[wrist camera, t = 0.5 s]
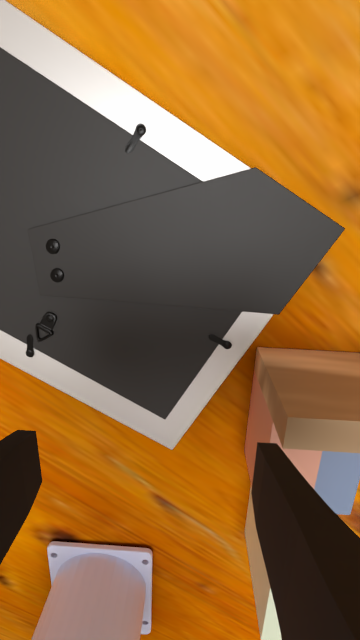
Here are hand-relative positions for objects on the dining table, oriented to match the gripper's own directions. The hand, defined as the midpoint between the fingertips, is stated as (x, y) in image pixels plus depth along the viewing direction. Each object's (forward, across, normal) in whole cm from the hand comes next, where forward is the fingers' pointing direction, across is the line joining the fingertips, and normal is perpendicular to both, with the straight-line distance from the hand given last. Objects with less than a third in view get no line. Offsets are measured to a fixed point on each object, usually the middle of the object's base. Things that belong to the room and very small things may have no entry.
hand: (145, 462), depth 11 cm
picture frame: (+11, +5, -6) cm, 13 cm away
